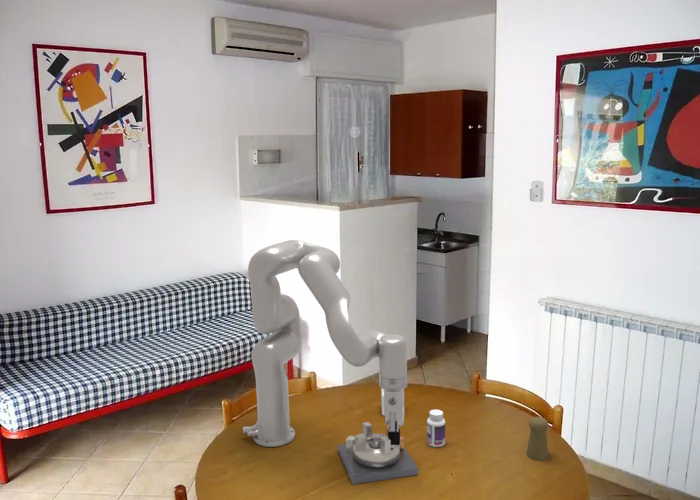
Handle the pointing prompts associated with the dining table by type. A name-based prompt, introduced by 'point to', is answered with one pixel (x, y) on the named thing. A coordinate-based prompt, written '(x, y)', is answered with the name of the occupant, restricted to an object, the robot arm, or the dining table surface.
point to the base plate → (370, 474)
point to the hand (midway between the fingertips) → (394, 443)
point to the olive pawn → (538, 439)
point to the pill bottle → (436, 428)
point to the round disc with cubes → (375, 448)
